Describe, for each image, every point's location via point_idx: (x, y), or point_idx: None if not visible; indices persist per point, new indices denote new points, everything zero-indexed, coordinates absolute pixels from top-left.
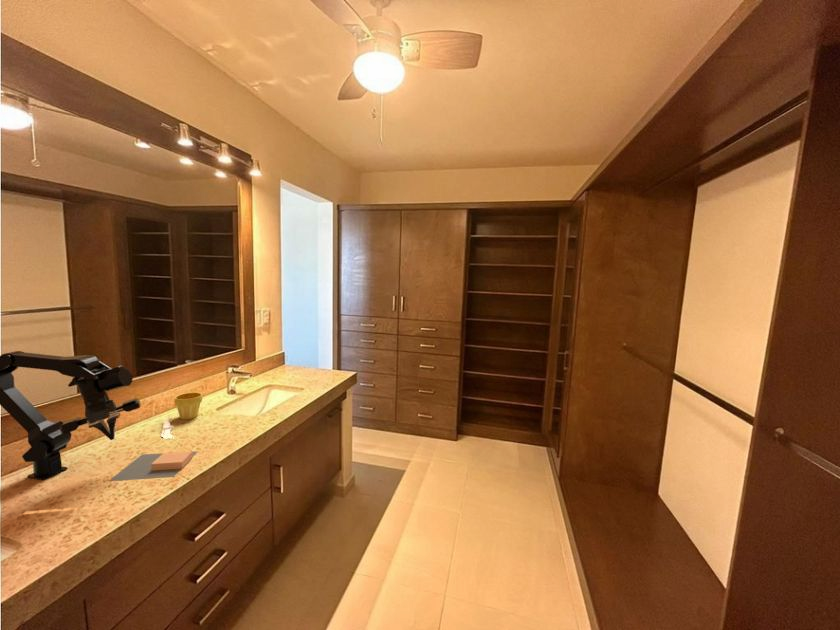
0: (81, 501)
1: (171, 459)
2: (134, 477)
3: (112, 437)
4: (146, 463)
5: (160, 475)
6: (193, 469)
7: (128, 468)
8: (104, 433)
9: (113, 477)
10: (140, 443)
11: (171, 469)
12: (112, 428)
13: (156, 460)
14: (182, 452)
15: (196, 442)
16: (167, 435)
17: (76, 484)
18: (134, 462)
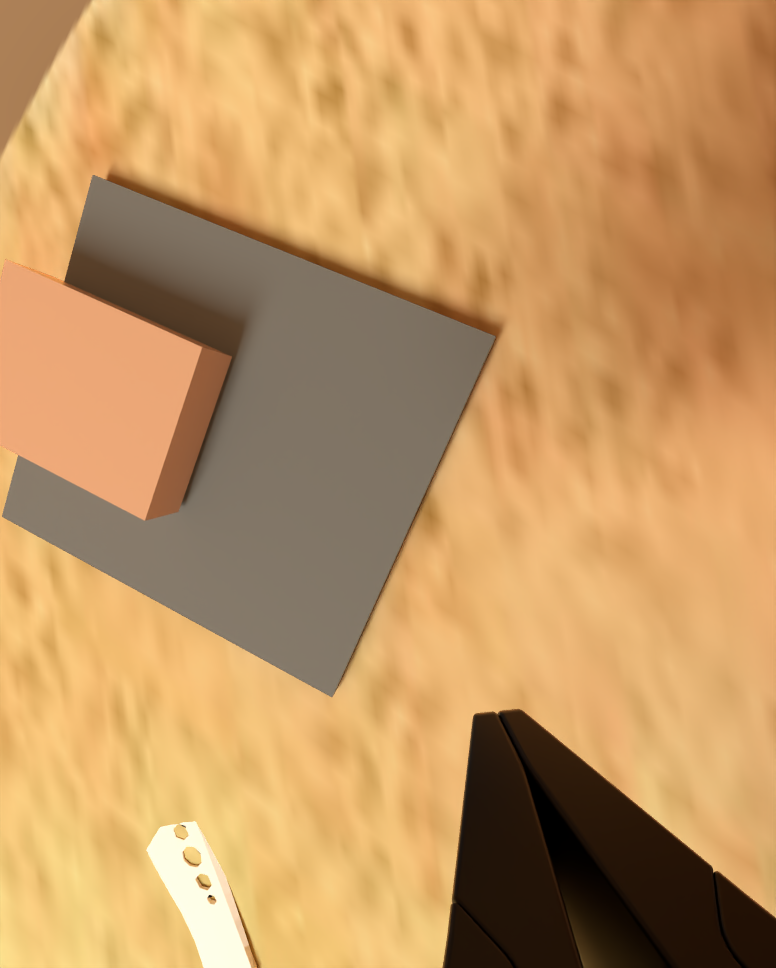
0: (638, 105)
1: (78, 355)
2: (329, 301)
3: (493, 730)
4: (282, 507)
5: (173, 242)
6: None
7: (389, 492)
8: (670, 839)
9: (470, 383)
10: (374, 935)
11: (119, 304)
12: (485, 931)
13: (173, 396)
14: (24, 450)
15: (40, 699)
16: (215, 947)
17: (723, 444)
18: (363, 579)
